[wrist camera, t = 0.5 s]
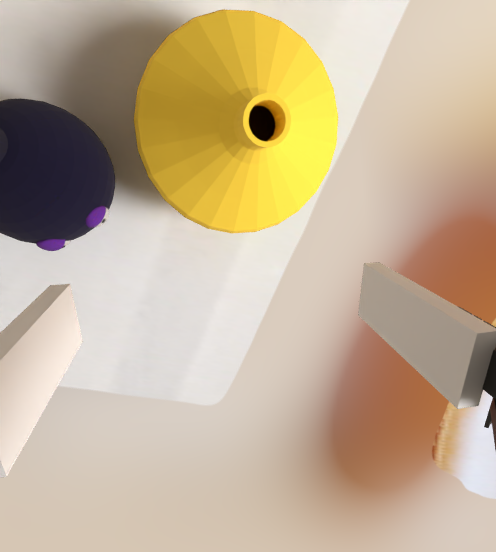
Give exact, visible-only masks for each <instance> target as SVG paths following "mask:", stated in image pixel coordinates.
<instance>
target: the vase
mask: <svg viewBox="0 0 496 552" xmlns="http://www.w3.org/2000/svg"><path fill="white" fill-rule="evenodd" d="M134 125H135V133H136V140H137V148H138V152H139V154H140V157H141V159H142V162H143V164H144V167H145V170H146V172H147V175H148V177H149V179H150V180H151V181H152V183H153V184H154V186H155V187H156V188H157V190H158V191H159V193H160V194H161V196H162V197H163V198H164V200H165V201H166V202H168V203H169V204H170V205H171V206H172V207H173V208H175V209H176V210H177V211H178V212H179V213H180V214H182V215H183V216H184V217H185V218H187V219H189V220H191V221H193V222H195V223H198V224H200V225H202V226H204V227H206V228H208V229H213V230H218V231H223V232H228V233H244V232H256V231H259V230H262V229H265V228H268V227H271V226H274V225H277V224H279V223H281V222H282V221H284V220H285V219H287V218H288V217H290V216H291V215H293V214H295V213H296V212H298V211H299V210H300V209H301V207H302V206H303V205H304V204H305V203H306V202H307V201H308V200H309V199H310V198H311V197H312V196H313V195H314V194H315V192H316V191H317V189H318V188H319V186H320V184H321V182H322V181H323V179H324V177H325V175H326V174H327V172H328V170H329V167H330V164H331V160H332V157H333V154H334V150H335V147H336V141H337V126H338V113H337V107H336V101H335V95H334V89H333V87H332V84H331V82H330V80H329V77H328V75H327V72H326V70H325V68H324V65H323V63H322V61H321V60H320V59H319V57H318V56H317V55H316V53H315V52H314V51H313V49H312V48H311V47H310V46H309V44H308V43H307V42H306V40H305V39H304V38H303V37H301V36H300V35H299V34H297V33H296V32H295V31H293V30H292V29H291V28H289V27H288V26H287V25H285V24H284V23H283V22H281V21H279V20H276V19H274V18H271V17H268V16H266V15H263V14H260V13H257V12H255V11H242V10H219V11H216V12H212V13H209V14H205V15H202V16H198V17H195V18H193V19H191V20H190V21H188V22H187V23H185V24H184V25H182V26H181V27H179V28H178V29H177V30H175V31H174V32H172V33H171V34H169V35H168V36H167V38H166V39H165V40H164V41H163V43H162V44H161V45H160V46H159V48H158V49H157V50H156V51H155V53H154V54H153V55H152V57H151V58H150V59H149V61H148V64H147V66H146V69H145V71H144V74H143V76H142V79H141V81H140V84H139V86H138V89H137V97H136V105H135V113H134Z"/></svg>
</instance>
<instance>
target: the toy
mask: <svg viewBox="0 0 496 552" xmlns="http://www.w3.org/2000/svg"><path fill="white" fill-rule="evenodd" d="M114 189H115V175H114V170H113V165H112V163H111V160H110V157H109V155H108V153H107V150H106V148H105V147H104V145H103V144H102V142H101V141H100V139H99V138H98V137H97V135H96V134H95V133H94V132H93V131H92V130H91V129H90V128H89V127H88V126H87V125H86V124H85V123H84V122H82V121H81V120H80V119H78V118H77V117H76V116H74V115H72V114H71V113H69V112H68V111H66V110H64V109H61V108H59V107H56V106H54V105H51V104H48V103H46V102H42V101H35V100H28V99H8V100H4V101H0V233H2V234H4V235H7V236H9V237H12V238H15V239H17V240H20V241H24V242H30V243H36V244H37V246H38V247H40V248H42V249H44V250H48V251H56V250H59V249H61V248H63V247H65V246H66V245H68V244H69V243H70V242H71V240H74V239H76V238H78V237H80V236H83V235H85V234H86V233H87V232H89V231H90V230H92V229H93V228H94V227H98V226H101V225H102V224H103V223H104V222H105V221H106V220H107V218H108V216H109V208H110V205H111V203H112V199H113V195H114Z"/></svg>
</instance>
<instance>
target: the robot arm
mask: <svg viewBox="0 0 496 552" xmlns="http://www.w3.org/2000/svg"><path fill="white" fill-rule="evenodd" d="M358 315H359V316H360V317H361V318H362V319H363V320H364V321H365V322H366V323H367V324H368V325H369V326H370V327H371V328H372V329H373V330H374V331H376V332H377V333H378V334H379V335H380V336H381V337H382V338H383V339H384V340H385V341H386V342H387V343H388V344H389V345H390V346H391V347H392V348H394V349H395V350H396V351H397V352H398V353H399V354H400V355H401V356H402V357H403V358H404V359H405V360H406V361H407V362H408V363H410V365H411V366H413V367H414V368H415V369H416V370H417V371H418V372H419V373H420V374H421V375H422V376H423V377H424V378H425V379H426V380H427V381H428V382H429V383H430V384H432V385H433V386H434V387H435V388H436V389H437V390H438V391H439V392H440V393H441V394H442V395H443V396H444V397H445V398H446V399H447V400H448V401H450V402H451V403H452V404H453V405H454V406H455V407H456V408H457V409H460V408H467V407H473V406H478V405H479V402H480V398H481V395H482V392H483V390H485V391H486V392H487V393H488V394H490V395H491V396H492V397H493V399H492V403H491V406H490V409H489V412H488V416H487V419H486V422H485V426H484V427H486V428H489V425H490V424H492V427H493V434H494V442H495V449H496V327H494V326H493V325H491V324H489V323H487V322H485V321H482V319H480V318H478V317H476V316H475V315H474V316H473V315H472V314H471V313H469V312H468V311H466V310H464V309H462V308H460V307H457V306H455V305H454V304H452V303H450V302H448V301H446V300H445V299H443V298H441V297H439V296H438V295H436V294H434V293H432V292H431V291H429V290H427V289H425V288H423V287H422V286H420V285H418V284H416V283H414V282H413V281H411V280H409V279H408V278H406V277H404V276H402V275H401V274H399V273H397V272H395V271H393V270H392V269H390V268H388V267H386V266H384V265H383V264H381V263H379V262H378V263H377V262H376V263H364V269H363V278H362V286H361V295H360V303H359V312H358ZM82 342H83V341H82V336H81V331H80V327H79V322H78V318H77V313H76V308H75V304H74V299H73V295H72V290H71V286H70V284H63V285H50V286H49V287H48V288H47V289H46V290H45V291H44V292H43V293H42V294H41V295H40V296H39V297H38V298H37V299H35V300H34V301H33V302H32V303H31V304H30V305H29V306H28V307H27V308H26V309H25V310H24V311H23V312H22V313H21V314H20V315H19V316H18V317H17V318H15V319H14V320H13V321H12V322H11V323H10V324H9V325H8V326H7V327H6V328H5V329H4V330H3V331H2V332H1V333H0V477H6V476H7V475H8V473H9V471H10V469H11V468H12V466H13V464H14V462H15V461H16V459H17V457H18V455H19V454H20V452H21V450H22V448H23V446H24V445H25V443H26V441H27V439H28V437H29V436H30V434H31V432H32V430H33V429H34V427H35V425H36V423H37V422H38V420H39V418H40V416H41V415H42V413H43V411H44V409H45V407H46V406H47V404H48V402H49V400H50V399H51V397H52V395H53V393H54V391H55V390H56V388H57V386H58V384H59V383H60V381H61V379H62V377H63V376H64V374H65V372H66V370H67V368H68V367H69V365H70V363H71V361H72V360H73V358H74V356H75V354H76V353H77V351H78V349H79V347H80V345H81V344H82Z"/></svg>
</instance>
